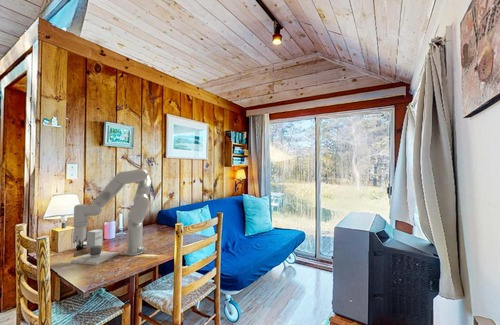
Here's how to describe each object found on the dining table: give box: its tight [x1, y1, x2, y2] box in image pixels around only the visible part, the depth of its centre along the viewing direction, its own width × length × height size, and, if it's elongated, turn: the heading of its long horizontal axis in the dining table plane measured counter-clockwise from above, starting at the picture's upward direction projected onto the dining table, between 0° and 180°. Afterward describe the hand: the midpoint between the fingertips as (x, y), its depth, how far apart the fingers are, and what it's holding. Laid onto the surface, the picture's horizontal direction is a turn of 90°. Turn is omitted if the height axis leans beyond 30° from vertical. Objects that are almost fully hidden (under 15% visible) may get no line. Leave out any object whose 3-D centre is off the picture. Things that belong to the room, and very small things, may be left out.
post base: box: [70, 250, 118, 266], centre depth 155 cm, size 19×19×3 cm
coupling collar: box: [73, 246, 102, 258], centre depth 152 cm, size 15×6×4 cm, turn 144°
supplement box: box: [85, 229, 104, 249], centre depth 178 cm, size 7×7×13 cm
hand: (79, 252), depth 151 cm, fingers closed
